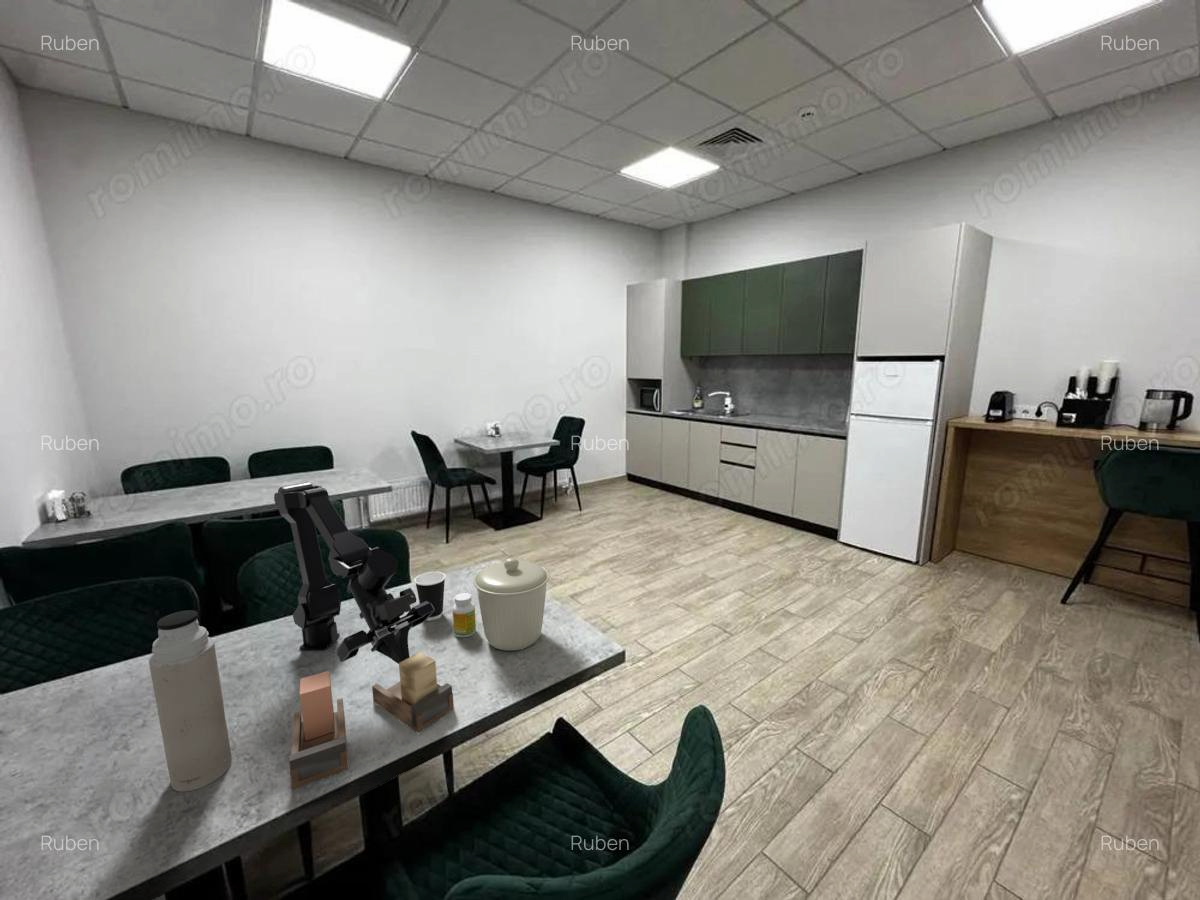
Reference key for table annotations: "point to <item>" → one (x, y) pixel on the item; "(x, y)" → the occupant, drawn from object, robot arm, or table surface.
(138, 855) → the table surface
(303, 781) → the dark wooden block holder
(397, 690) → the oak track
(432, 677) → the oak slider
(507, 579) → the canister
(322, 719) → the terracotta slider
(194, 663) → the thermos bottle
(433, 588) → the dixie cup
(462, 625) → the supplement bottle
